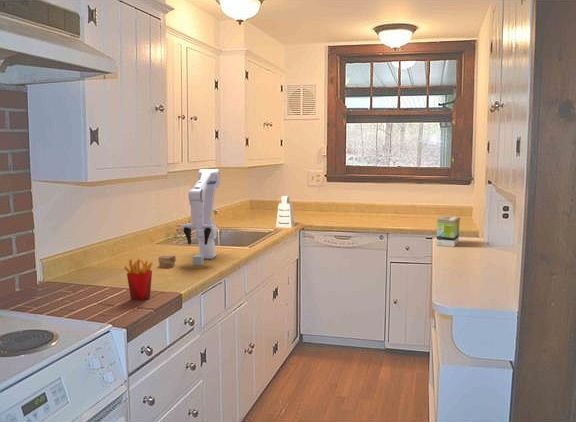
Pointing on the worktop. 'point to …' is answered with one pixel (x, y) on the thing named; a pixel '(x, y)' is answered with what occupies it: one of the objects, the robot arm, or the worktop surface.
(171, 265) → the slab base
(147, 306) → the worktop surface
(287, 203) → the grater
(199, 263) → the gray cube
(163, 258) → the slab top
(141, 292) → the french fries
